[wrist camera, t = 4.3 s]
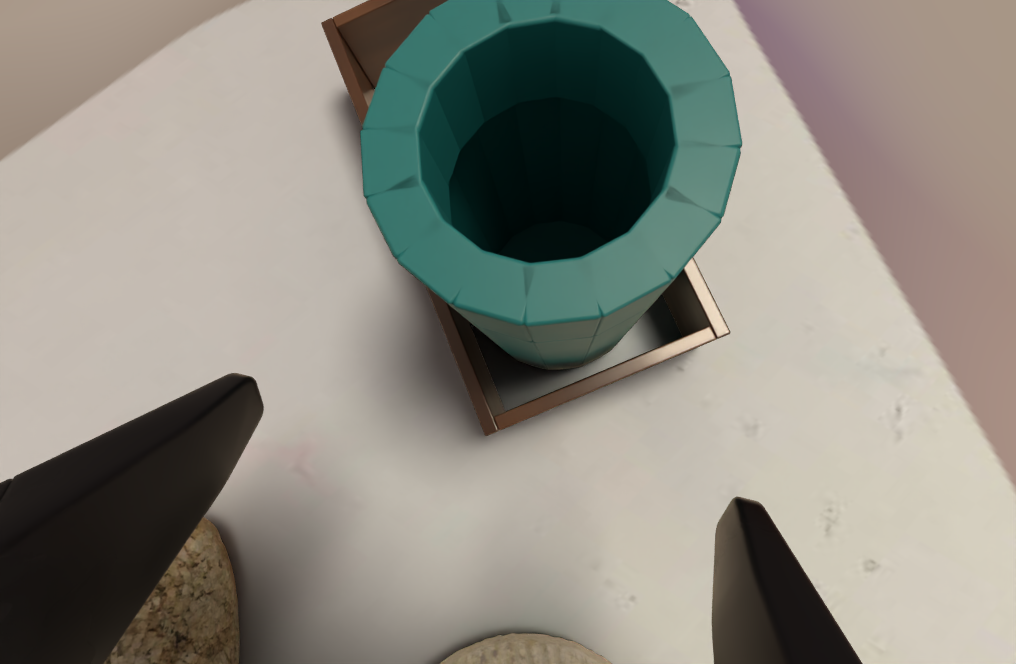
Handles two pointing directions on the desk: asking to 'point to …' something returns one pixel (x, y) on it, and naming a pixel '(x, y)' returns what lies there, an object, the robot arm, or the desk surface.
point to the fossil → (525, 651)
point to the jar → (551, 164)
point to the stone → (187, 610)
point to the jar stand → (361, 57)
